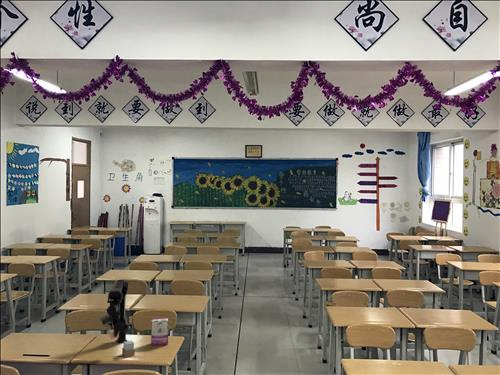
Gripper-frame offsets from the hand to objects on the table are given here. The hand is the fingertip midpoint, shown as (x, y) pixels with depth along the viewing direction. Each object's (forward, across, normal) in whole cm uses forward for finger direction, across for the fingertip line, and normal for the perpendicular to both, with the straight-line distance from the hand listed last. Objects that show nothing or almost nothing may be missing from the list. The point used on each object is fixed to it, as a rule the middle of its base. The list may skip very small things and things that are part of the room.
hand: (114, 335), depth 273 cm
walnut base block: (+13, +3, +8) cm, 15 cm away
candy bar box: (+13, -5, +32) cm, 35 cm away
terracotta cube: (+1, 0, 0) cm, 1 cm away
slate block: (+9, +3, +8) cm, 12 cm away
